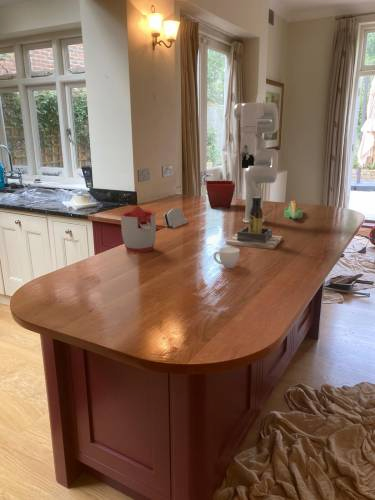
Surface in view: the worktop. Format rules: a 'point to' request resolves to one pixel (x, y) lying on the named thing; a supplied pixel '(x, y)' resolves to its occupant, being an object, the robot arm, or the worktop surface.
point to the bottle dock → (255, 239)
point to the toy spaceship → (293, 211)
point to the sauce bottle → (255, 216)
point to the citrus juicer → (138, 229)
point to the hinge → (174, 218)
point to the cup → (228, 256)
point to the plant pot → (220, 193)
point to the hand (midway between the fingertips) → (247, 166)
